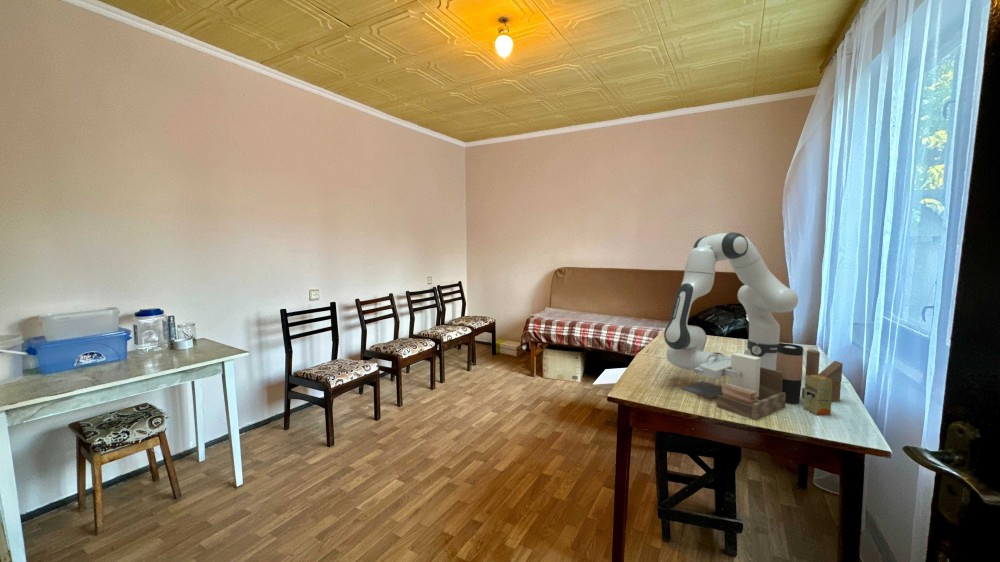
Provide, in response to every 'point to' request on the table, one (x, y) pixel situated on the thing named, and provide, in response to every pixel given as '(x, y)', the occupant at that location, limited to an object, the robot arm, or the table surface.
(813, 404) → the shoe polish box
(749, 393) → the offcut stack
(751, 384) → the white rectangular block
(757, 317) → the robot arm
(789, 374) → the travel mug
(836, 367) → the wooden block
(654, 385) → the table surface
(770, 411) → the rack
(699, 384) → the mat
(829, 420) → the table surface
